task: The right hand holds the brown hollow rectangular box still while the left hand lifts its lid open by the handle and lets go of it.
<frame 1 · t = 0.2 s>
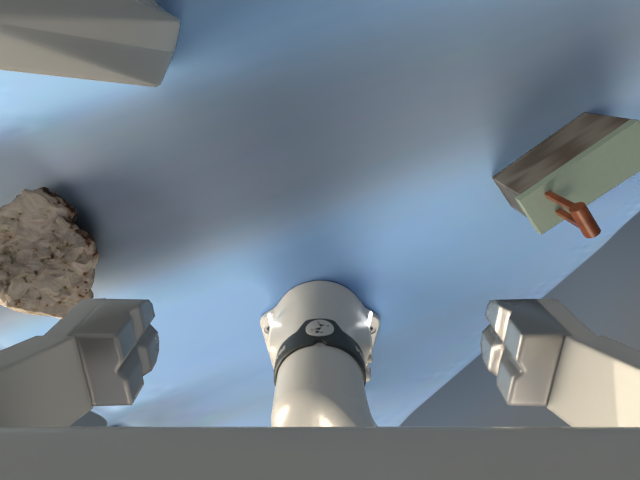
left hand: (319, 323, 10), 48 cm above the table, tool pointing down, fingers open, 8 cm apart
lid: (603, 186, 45), point 13 cm above the table, hinge at 0.0°
rock: (60, 241, 61), on the table
vase: (140, 34, 51), on the table
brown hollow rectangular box: (546, 161, 57), on the table
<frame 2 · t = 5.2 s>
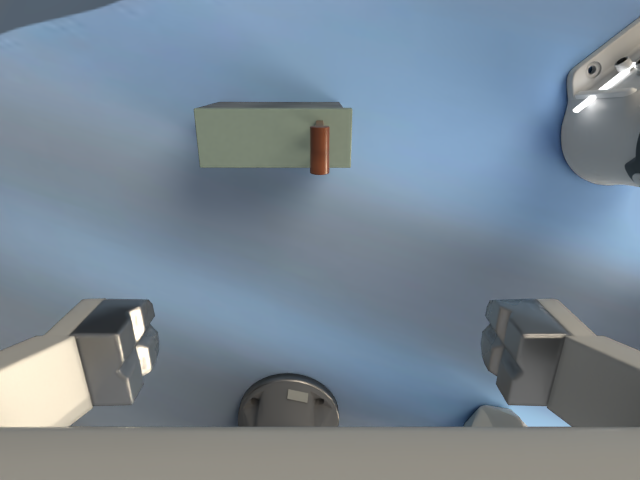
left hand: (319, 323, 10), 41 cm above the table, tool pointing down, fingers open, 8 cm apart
lid: (270, 143, 36), point 13 cm above the table, hinge at 0.0°
vase: (489, 424, 65), on the table
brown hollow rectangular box: (279, 126, 48), on the table
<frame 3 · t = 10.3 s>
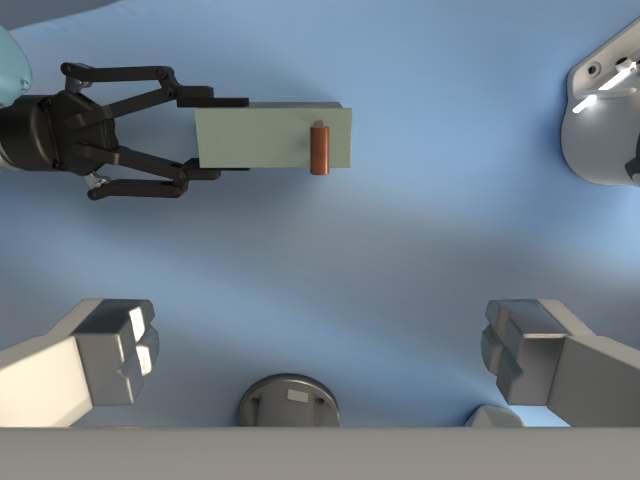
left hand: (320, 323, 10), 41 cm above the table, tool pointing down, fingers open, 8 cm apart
right hand: (248, 134, 42), fingers closed on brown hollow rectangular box, 5 cm apart
lid: (270, 143, 36), point 13 cm above the table, hinge at 0.0°
vase: (489, 424, 65), on the table
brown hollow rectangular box: (279, 126, 48), on the table, touching right hand
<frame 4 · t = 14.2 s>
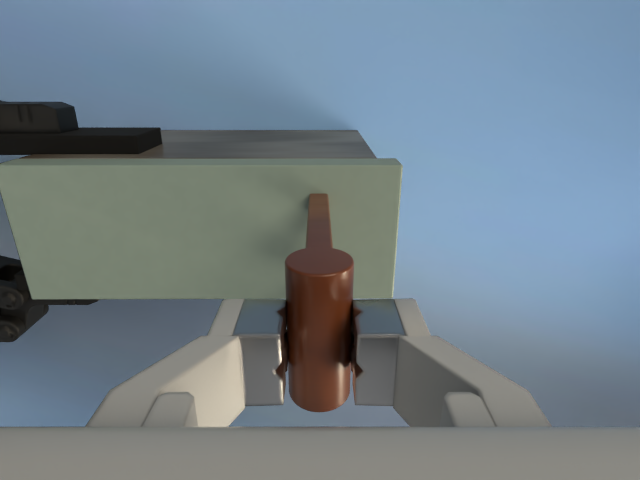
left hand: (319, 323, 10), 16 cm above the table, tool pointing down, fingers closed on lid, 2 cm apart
lid: (183, 269, 13), point 13 cm above the table, hinge at -0.1°, touching left hand
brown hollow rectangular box: (241, 176, 25), on the table, touching right hand
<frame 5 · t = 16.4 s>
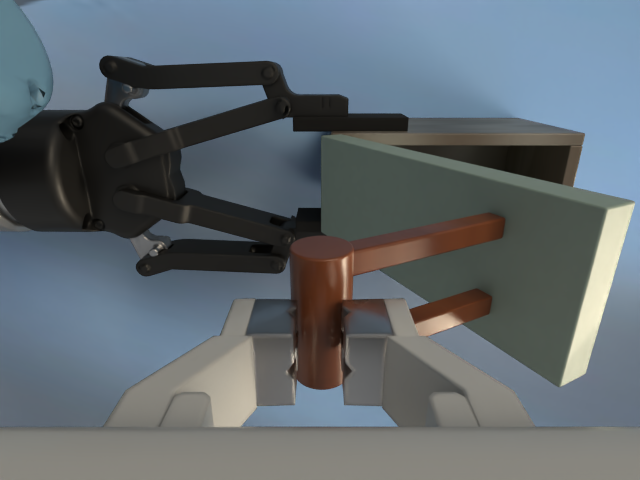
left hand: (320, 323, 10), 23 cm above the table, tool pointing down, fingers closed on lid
right hand: (399, 173, 26), fingers closed on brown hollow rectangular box, 5 cm apart
lid: (345, 237, 16), point 17 cm above the table, hinge at 60.7°, touching left hand
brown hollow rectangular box: (420, 154, 32), on the table, touching right hand
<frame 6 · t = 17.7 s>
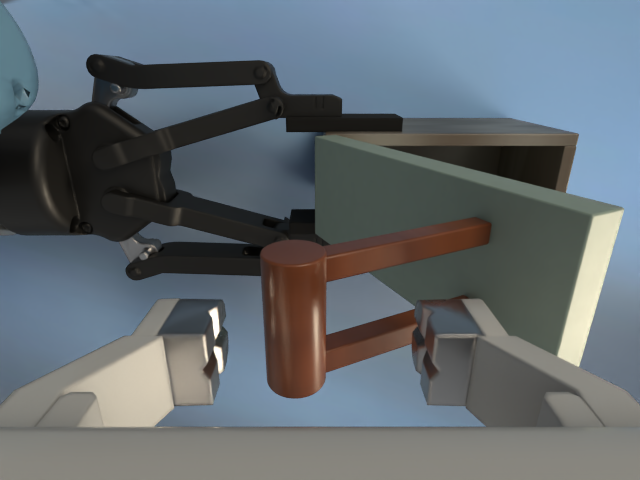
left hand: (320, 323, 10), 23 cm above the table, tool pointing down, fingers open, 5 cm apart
right hand: (393, 173, 25), fingers closed on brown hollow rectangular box, 5 cm apart
lid: (331, 240, 15), point 17 cm above the table, hinge at 63.6°
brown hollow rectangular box: (414, 155, 32), on the table, touching right hand
when the right hand's fingers open (6 cm above the table, at t = 21.0 s): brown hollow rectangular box stays where it is, on the table.
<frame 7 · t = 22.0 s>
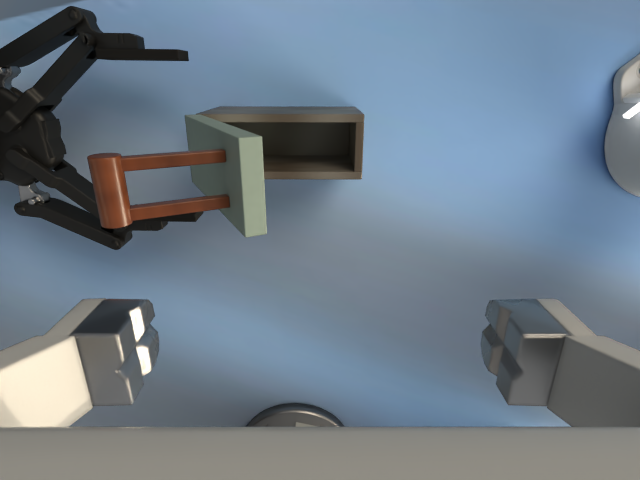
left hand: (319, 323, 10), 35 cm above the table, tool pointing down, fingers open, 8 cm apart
right hand: (192, 139, 37), fingers open, 13 cm apart
lid: (165, 169, 27), point 17 cm above the table, hinge at 62.8°
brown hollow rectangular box: (288, 134, 43), on the table
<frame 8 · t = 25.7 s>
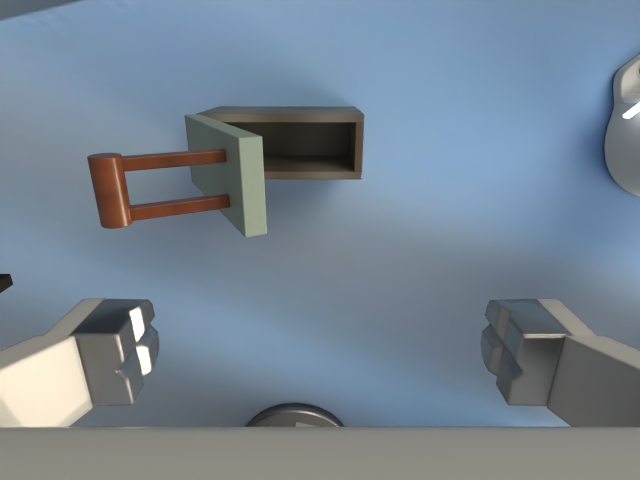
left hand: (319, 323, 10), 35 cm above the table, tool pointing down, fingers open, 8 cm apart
lid: (165, 169, 27), point 17 cm above the table, hinge at 62.8°
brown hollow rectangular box: (288, 134, 43), on the table
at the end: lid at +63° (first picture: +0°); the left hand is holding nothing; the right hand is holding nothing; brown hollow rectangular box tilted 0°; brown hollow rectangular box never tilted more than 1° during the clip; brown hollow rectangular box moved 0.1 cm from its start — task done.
